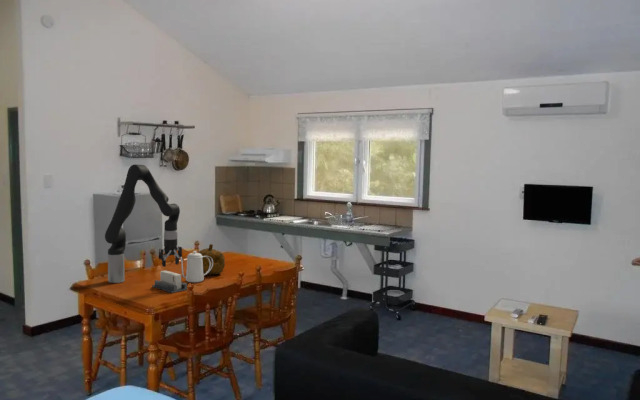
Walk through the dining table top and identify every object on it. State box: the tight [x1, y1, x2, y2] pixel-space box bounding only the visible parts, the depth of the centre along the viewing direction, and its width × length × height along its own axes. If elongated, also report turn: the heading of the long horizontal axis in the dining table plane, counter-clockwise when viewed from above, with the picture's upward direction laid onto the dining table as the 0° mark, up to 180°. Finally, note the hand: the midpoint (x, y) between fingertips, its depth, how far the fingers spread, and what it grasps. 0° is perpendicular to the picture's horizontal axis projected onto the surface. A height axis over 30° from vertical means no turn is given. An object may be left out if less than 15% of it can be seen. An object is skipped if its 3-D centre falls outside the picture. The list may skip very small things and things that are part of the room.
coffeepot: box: [179, 250, 213, 283], centre depth 323 cm, size 11×25×19 cm, turn 126°
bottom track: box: [152, 279, 189, 294], centre depth 305 cm, size 20×12×4 cm, turn 50°
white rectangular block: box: [159, 269, 182, 289], centre depth 305 cm, size 16×4×8 cm, turn 49°
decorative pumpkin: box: [197, 243, 226, 276], centre depth 344 cm, size 20×21×20 cm
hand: (170, 265), depth 304 cm, fingers open, 8 cm apart
